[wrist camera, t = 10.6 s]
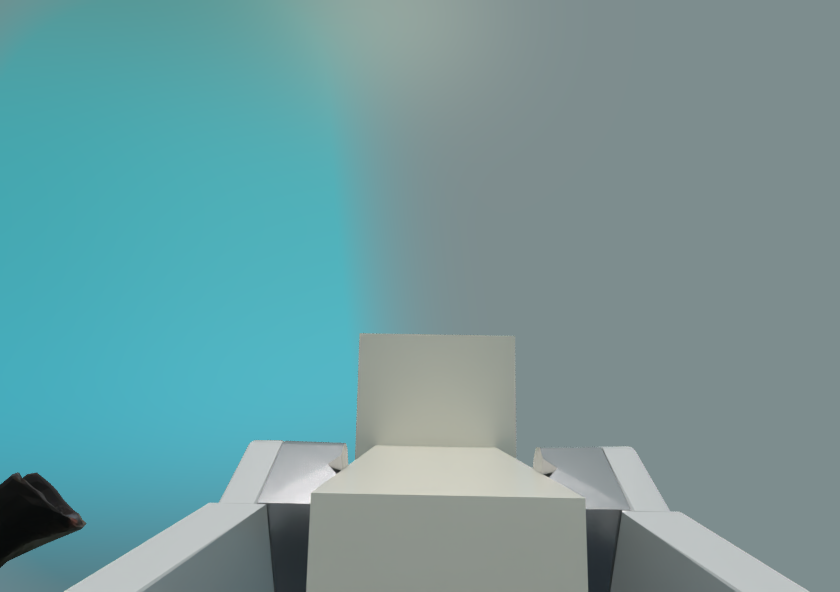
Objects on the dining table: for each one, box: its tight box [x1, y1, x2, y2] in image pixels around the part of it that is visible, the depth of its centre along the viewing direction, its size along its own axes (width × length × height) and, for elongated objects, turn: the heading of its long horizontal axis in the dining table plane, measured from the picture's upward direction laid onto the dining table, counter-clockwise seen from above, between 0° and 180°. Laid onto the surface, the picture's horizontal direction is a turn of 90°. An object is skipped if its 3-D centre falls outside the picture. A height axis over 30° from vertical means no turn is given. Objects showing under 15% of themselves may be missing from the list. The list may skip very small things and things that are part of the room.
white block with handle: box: [306, 333, 588, 592], centre depth 14 cm, size 14×4×4 cm, turn 179°
